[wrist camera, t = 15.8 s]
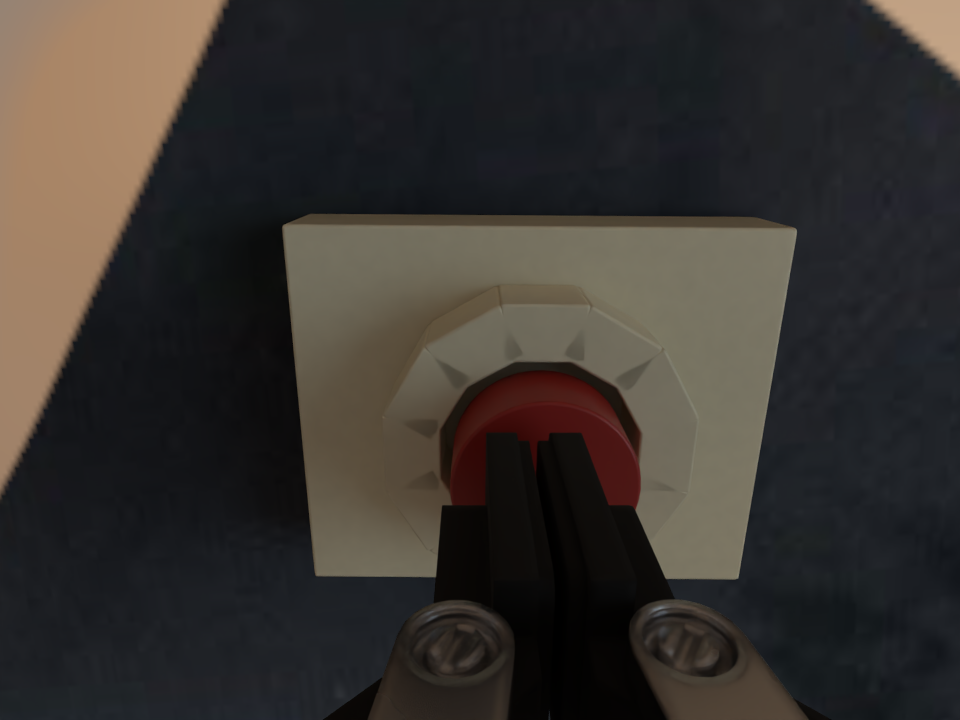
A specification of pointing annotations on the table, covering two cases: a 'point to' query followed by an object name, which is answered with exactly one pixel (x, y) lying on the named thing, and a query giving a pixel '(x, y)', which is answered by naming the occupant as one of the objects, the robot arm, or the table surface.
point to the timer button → (543, 432)
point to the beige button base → (530, 364)
